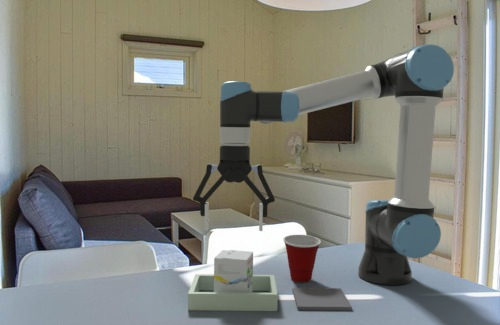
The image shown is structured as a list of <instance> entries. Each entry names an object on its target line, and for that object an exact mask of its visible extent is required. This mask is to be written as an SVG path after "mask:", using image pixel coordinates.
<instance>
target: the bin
mask: <svg viewBox="0 0 500 325" xmlns="http://www.w3.org/2000/svg"><path fill="white" fill-rule="evenodd" d="M277 289H278V288H277V283H276V278H275V274H253V293H251V292H214V273H213V274H211V273H210V274H208V273H206V274H204V273H203V274H202V273H201V274H200V273H198V274H197V273H195V275H194V278H193V280H192V282H191V285H190V287H189V290H188V293H187V311H220V312H221V311H223V312H224V311H227V312H228V311H229V312H231V311H232V312H233V311H235V312H236V311H237V312H238V311H239V312H243V311H244V312H245V311H246V312H278V300H279V298H278V297H279V296H278V290H277Z"/></svg>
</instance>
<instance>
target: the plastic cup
mask: <svg viewBox="0 0 500 325" xmlns="http://www.w3.org/2000/svg"><path fill="white" fill-rule="evenodd" d="M283 242H284V246H285V250H286V255H287V256H286V257H287V262H288V268H289V274H290V275H289V276H290V278H291V280H292V281H293V282H296V283H308V282H311V280H312V279H313V278H312V277H313V272H314V269H315V263H316V258H317V252H318V249H319V246H320V245H321V243H322V241H321V238H319V237H315V236H313V235H307V234H289V235H287V236H285V237H283Z"/></svg>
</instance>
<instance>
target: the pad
mask: <svg viewBox="0 0 500 325" xmlns="http://www.w3.org/2000/svg"><path fill="white" fill-rule="evenodd" d="M291 290H292V291H291V292H292V295H293V298H294V302H295V304H296V305H295V306H296V309H297V311H301V310H302V311H353V306H352V304H351V303H350V301H349V300H348V298H347V297H346V295H345V293H344V291H343V290H342V288H340V287H339V288H337V287H336V288H334V287H333V288H331V287H330V288H329V287H327V288H325V287H324V288H323V287H292V289H291Z"/></svg>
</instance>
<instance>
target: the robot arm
mask: <svg viewBox="0 0 500 325" xmlns="http://www.w3.org/2000/svg"><path fill="white" fill-rule="evenodd" d="M454 72H455V67H454V61H453V59H452V57H451V55H450V53H448V52H447V51H446V49H445V48H443V47H441V46H439V45H437V44H432V43H431V44H422V45H416V46H414V47H412V48H411V49H409V50H406V51H403V52H400V53H398V54H396V55H393V56H392V57H389V58H387V59H385V60H383V61H381V62H378V63H374V64H371V65H368V66H367V67H365V70H361V71H358V72H353V73H350V74H347V75H343V76H338V77H334V78H331V79H327V80H323V81H319V82H314V83H310V84H307V85H302V86H298V87H295V88H290V89H287V90H283V91H269V90H268V91H267V90H265V91H262V90H255V89H254V90H252V89H253V88H252V85H251V83H250V82H249V81H238V80H232V81H225V82H223V83H222V84H221V86H220V97H219V98H220V99H219V102H220V103H219V143H220V144H221V145H220V146H219V162H218V164H212V163H207V165H206V169H205V170H206V171H205V174H204V176H203V178H202V180H201V182H200V184H199V185H198V188H197V189H196V192H195V194H194V195H193V196H192V200H193V201H194V202H197V203H199V204H200V207H199V208H200V209H199V210H200V212H199V214H200V216H201V217H204V231H208V230H209V226H210V225H209V224H210V220H209V219H210V213H209V212H210V210H209V209H210V204H209V203H210V202H207V201H208V200H209V198H210V197H211V196H212V195H213V194H214V193H215V192H216V190H217V189H218V188H219V187H220V186H221V185H222V184H223V182H226V183H238V184H239V183H243V182H245V184H246V185H247V186H248V187H249V188H250V190H251V191H252V192H253V193H254V195H256V197H257V199H259V201H260V203H259V211H258V212H259V213H258V214H259V215H258V216H259V217H258V219H259V220H258V221H259V223H258V229H259V230H258V231H259V232H263V222H264V220H263V218H267V217H268V205H269V204H271V203H274V202H275V196H274V195H273V192H272V190H271V188H270V186H269V184H268V182H267V179H266V178H265V176H264V172H263V166H262V165H261V164H256V165H252V164H251V161H250V160H251V147H250V146H249V144H250V143H251V122H259V123H261V124H265V125H266V124H270V123H292V122H293V123H294V122H296V121H297V120H298V118H299V116H300V115H304V114H307V113H311V112H312V113H313V112H315V111H320V110H323V109H327V108H332V107H336V106H339V105H344V104H348V103H351V102H354V101H359V100H363V99H367V98H372V99H373V100H377V99H380V98H387V97H393V96H394V97H395V98H394V100H395V101H396V102H397V103H398V104H399V106H400V109H399V110H400V111H399V122H398V123H399V124H398V137H397V138H398V139H397V149H396V150H397V152H396V163H395V164H396V165H395V178H394V194H393V196H392V197H391V198H390V199H372V200H368V201H367V203H366V206H365V207H366V208H365V229H364V230H365V234H364V235H365V236H364V237H365V238H364V242H365V244H364V245H365V246H364V251H363V254H362V257H361V260H360V262H359V266H358V268H357V269H358V273H357V274H358V277H359V278H360V279H362V280H363V281H366V282H370V283H373V284H379V285H385V286H401V285H406V284H409V283H411V282H412V280H413V279H412V278H413V275H412V274H413V271H412V269H411V264H410V262H409V261H410V260H409V258H410V259H411V258H412V259H420V258H421V259H422V258H424V257H428V255H430V254H431V253H432V252H434V251H435V250H436V249H437V247H438V245H439V244H440V241H441V237H442V232H441V227H440V224H439V223H438V221H437V220H436V219H435V218H434V215H435V204H434V203H432V201H431V200H430V199H429V196H430V187H431V186H430V185H431V172H432V159H433V147H434V132H435V122H436V121H435V120H436V108H437V106H438V105H440V103H441V102H442V101H443V100H444V99H443V98H444V90H445V89H444V88H445V87H447V86H448V84H449V83H450V82H451V81H452V79H453V76H454ZM216 170H217V171H218V173H219V174H220V175H221V176H220V177H219V178H218V179H217V181H216V182H215V183H214V184H213V185H212V186H211V187H209V188H210V189H209V190H208V191H207V192H206V193H205V194H204V195H203V196H201V195H202V194H203V193H202V192H203V191H204V189H205V187H206V185H207V183H208V181H209V179H210V177H211V175H212V174H214V173H215V171H216ZM251 171H253V172H254V173H255V175H257V176H258V179H259V180H260V182H261V184H262V187H263V188H264V191H265V193H266V195H267V197H265V195H264V194H263V193H262V192H261V190H260V189H259V188H258V187H257V185H256V184H255V183H254V182H253V181H252V180H251V178H250V177H249V174H250V173H251Z"/></svg>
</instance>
